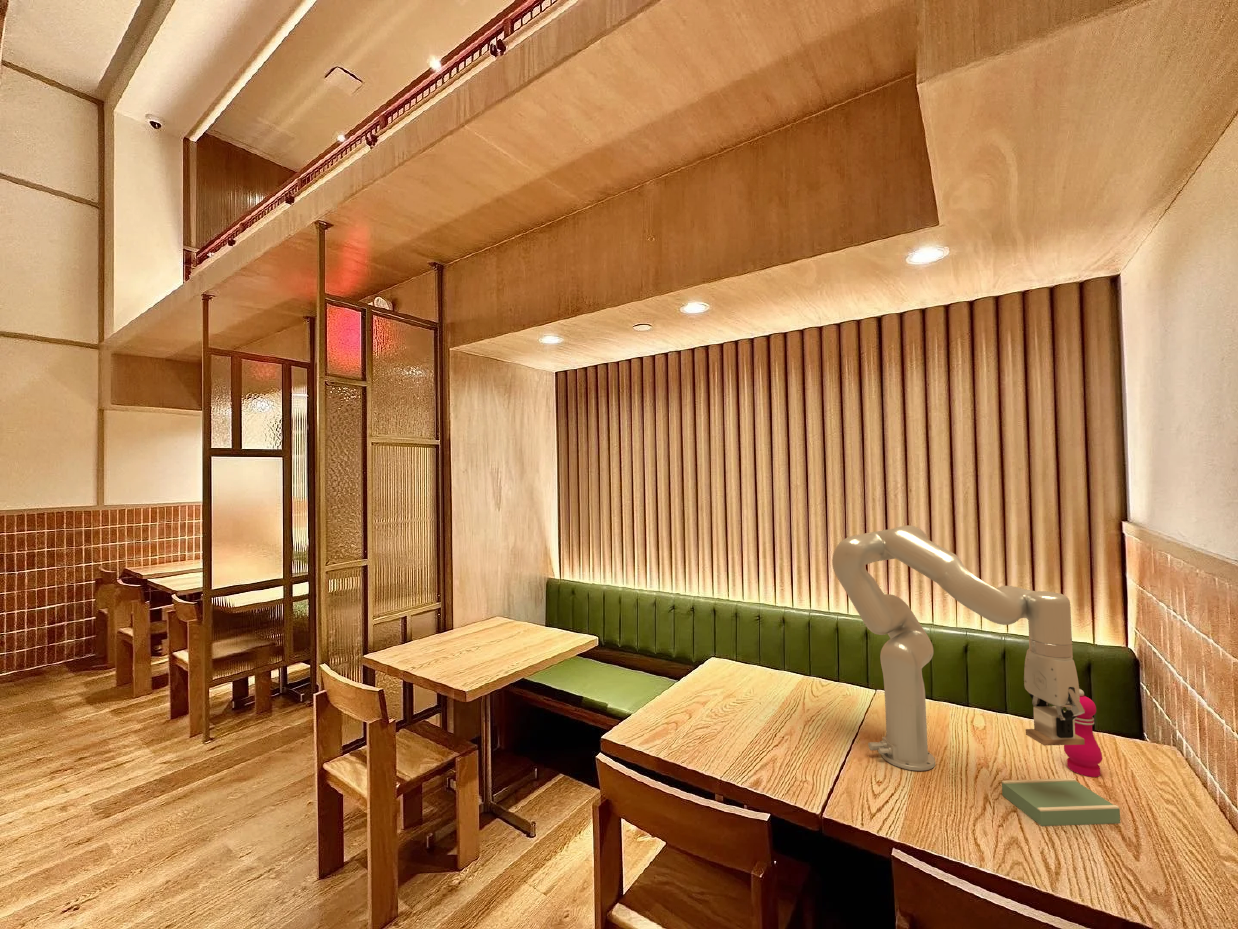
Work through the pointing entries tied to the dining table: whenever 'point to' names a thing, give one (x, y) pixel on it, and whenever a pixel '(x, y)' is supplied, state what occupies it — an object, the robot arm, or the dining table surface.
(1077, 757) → the pepper mill
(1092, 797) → the dock
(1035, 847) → the dining table surface
